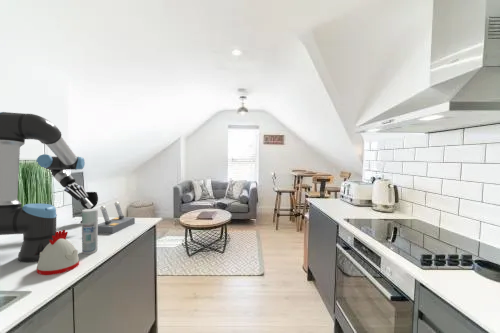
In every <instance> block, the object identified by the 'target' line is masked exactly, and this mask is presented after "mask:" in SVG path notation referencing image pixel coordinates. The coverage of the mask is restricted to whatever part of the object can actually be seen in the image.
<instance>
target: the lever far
mask: <svg viewBox="0 0 500 333" xmlns="http://www.w3.org/2000/svg"><path fill="white" fill-rule="evenodd" d="M114 206H115V210H116V212H117V215H118V217H119V219H122V218H124V217H125V215H124V214H123V211H122V208H121V206H120V202H118V201H115V203H114Z"/></svg>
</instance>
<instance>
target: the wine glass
mask: <svg viewBox="0 0 500 333" xmlns="http://www.w3.org/2000/svg"><path fill="white" fill-rule="evenodd" d="M85 192H86V193H87V195H88V197H87V199H88V200H89V201H90V202H91V203H92V204H93V206H92V207H91V208H88V207H87V206H86V205H85V204H84V203H83V202H82V201H81V202H80V204H81V206H82V207H83V208H84V209H95V208H96V206H97V204H98V203H99V197H98V196H99V195H98V192H96V191H85ZM80 223H81V224H82V220H81V221H80Z"/></svg>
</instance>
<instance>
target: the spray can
mask: <svg viewBox="0 0 500 333" xmlns="http://www.w3.org/2000/svg"><path fill="white" fill-rule="evenodd" d="M81 221H82V223H81V238H82V239H81V244H82V245H81V246H82V247H81V248H82V249H81V250H82V254H85V255H86V254H87V255H88V254H94V253H96V252H97V251H98V247H99V246H98V244H99V243H98V241H99V240H98V239H99V237H98V236H99V235H98V234H99V233H98V224H99V222H98V221H99V209H98V208H92V209H86V208H84V209H82V210H81Z"/></svg>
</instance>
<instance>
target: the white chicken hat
mask: <svg viewBox="0 0 500 333" xmlns="http://www.w3.org/2000/svg"><path fill="white" fill-rule="evenodd" d="M68 234H69V233H68V231H66V230H65V229H62V230H58V231H56V234H55V236H52V237H53V241H52V240H49V241H50V243H49V244H48V245H47V246H46V247H45V248H44V250H43V251H42V252H40V258H39V261H37V266H36V273H37V274H38V275H42V276H51V275H58V274H59V275H60V274H63V273H66V272H69V271H72V270H74V269H76V268H78V266H79V265H80V258H79V255H78V253H79V252H78V249H76V247H75V245H74V244H73V243H71V242H70V241H69V240H67V236H68Z"/></svg>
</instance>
